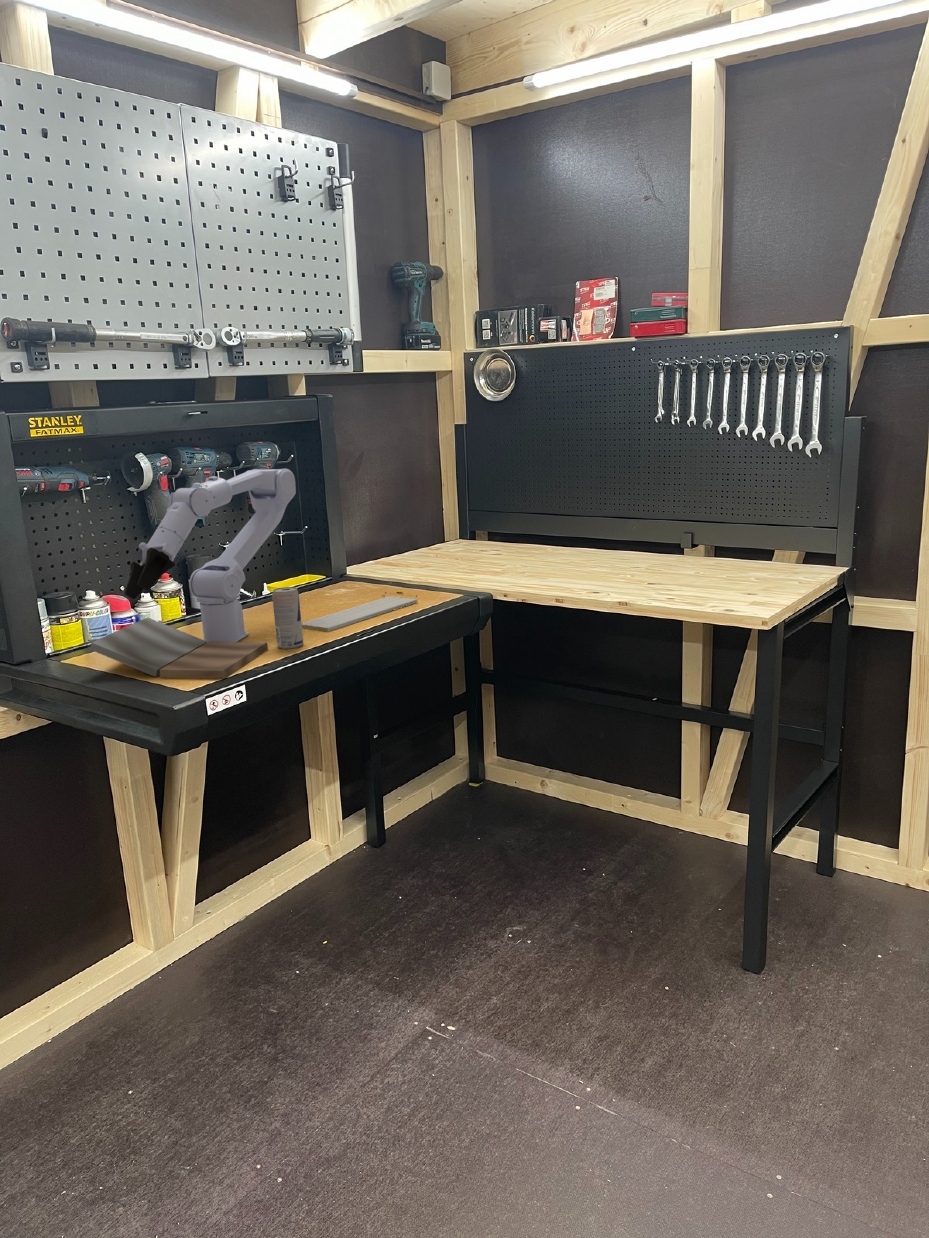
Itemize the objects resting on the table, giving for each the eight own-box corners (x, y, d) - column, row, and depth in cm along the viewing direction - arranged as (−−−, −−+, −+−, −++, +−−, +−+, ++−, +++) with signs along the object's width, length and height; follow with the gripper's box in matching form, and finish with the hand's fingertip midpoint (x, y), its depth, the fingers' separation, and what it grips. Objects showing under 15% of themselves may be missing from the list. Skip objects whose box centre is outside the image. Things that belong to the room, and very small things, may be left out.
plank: (145, 623, 194) (147, 617, 194) (205, 648, 193) (207, 641, 192) (89, 649, 175) (91, 642, 175) (155, 676, 174) (157, 669, 173)
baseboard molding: (290, 629, 209) (328, 634, 202) (289, 616, 208) (327, 622, 201) (381, 601, 233) (418, 605, 226) (380, 589, 232) (417, 593, 225)
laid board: (210, 649, 192) (209, 641, 192) (268, 649, 190) (267, 642, 189) (160, 677, 174) (159, 669, 173) (224, 678, 171) (223, 670, 170)
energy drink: (305, 641, 194) (299, 586, 192) (301, 648, 189) (296, 591, 186) (279, 643, 194) (274, 587, 192) (275, 649, 189) (269, 592, 186)
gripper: (139, 535, 187) (105, 589, 181) (165, 514, 176) (129, 571, 170) (169, 555, 190) (137, 608, 184) (196, 535, 179) (163, 592, 173)
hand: (135, 592), depth 177 cm, fingers open, 7 cm apart
